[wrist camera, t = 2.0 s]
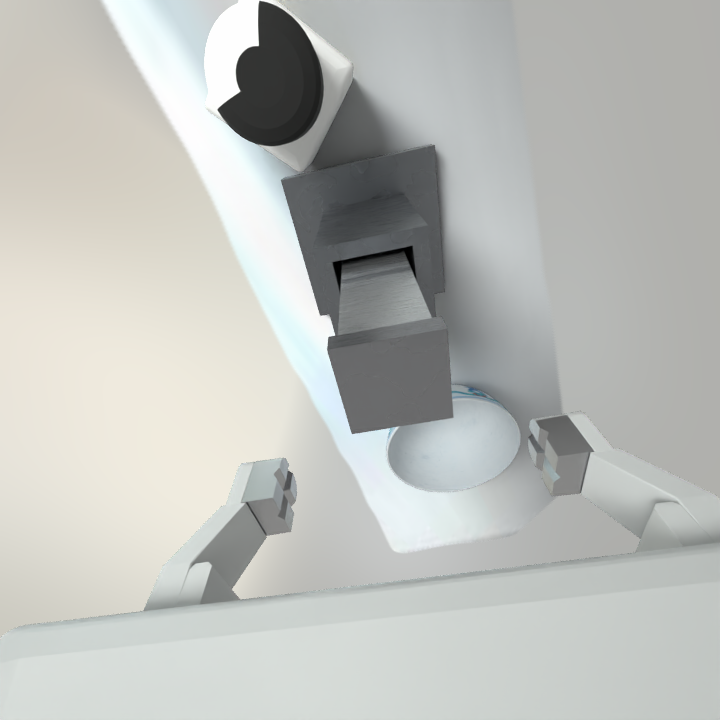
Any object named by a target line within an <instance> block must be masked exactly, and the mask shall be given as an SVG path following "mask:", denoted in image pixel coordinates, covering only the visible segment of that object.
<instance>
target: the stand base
mask: <svg viewBox="0 0 720 720" xmlns="http://www.w3.org/2000/svg"><path fill="white" fill-rule="evenodd" d="M281 182H282V185H283V189H284V192H285V196H286V199H287V203H288V206H289V210H290V213H291V216H292V220H293V223H294V227H295V230H296V234H297V237H298V241H299V244H300V248H301V251H302V254H303V258H304V261H305V265H306V268H307V272H308V275H309V279H310V282H311V286H312V289H313V292H314V296H315V299H316V303H317V306H318V310H319V313H320V316H322V315H327V314H330V317H331V321H332V325H333V328H334V332H335V336H337V335H338V324H339V307H340V291H341V274H342V260H345V259H350V258H355V257H359V256H364V255H369V254H374V253H379V252H384V251H389V250H394V249H399V248H403V250H404V253H405V255H406V258H407V260H408V262H409V265H410V267H411V269H412V272H413V274H414V277H415V279H416V281H417V284H418V286H419V288H420V291H421V293H422V295H423V298H424V300H425V303H426V305H427V307H428V310H429V312H430V314H431V317H432V318H434V317H436V312H435V301H434V294H437V293H442V292H445V288H444V274H443V260H442V245H441V231H440V217H439V202H438V188H437V174H436V160H435V145H432V144H430V145H425V146H421V147H416V148H412V149H408V150H403V151H399V152H395V153H390V154H386V155H382V156H377V157H373V158H368V159H364V160H360V161H355V162H351V163H347V164H342V165H338V166H333V167H329V168H325V169H320V170H316V171H312V172H307V173H303V174H299V175H294V176H290V177H285V178H283V179H282V180H281Z"/></svg>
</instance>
